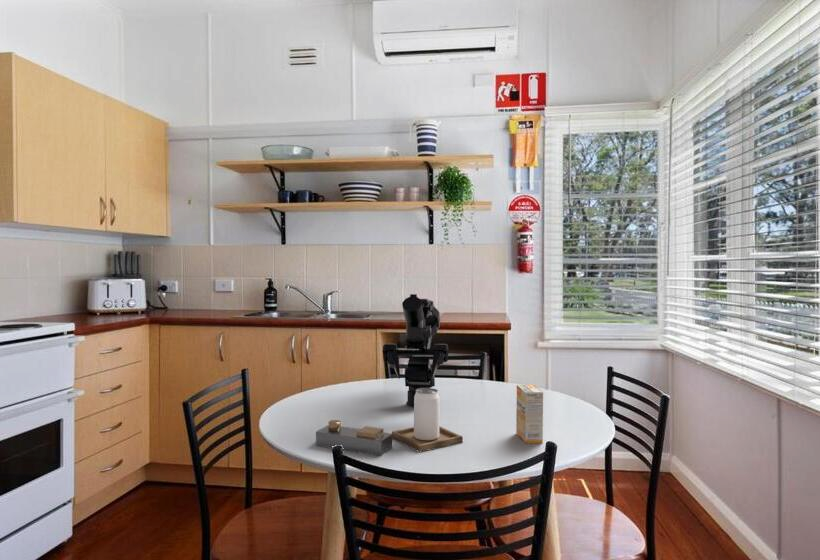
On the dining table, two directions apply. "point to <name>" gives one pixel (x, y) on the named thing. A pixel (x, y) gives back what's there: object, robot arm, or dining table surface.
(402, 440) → the walnut tray
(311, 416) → the dining table surface
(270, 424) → the dining table surface
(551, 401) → the dining table surface
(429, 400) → the can
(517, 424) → the supplement box
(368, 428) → the iron block
